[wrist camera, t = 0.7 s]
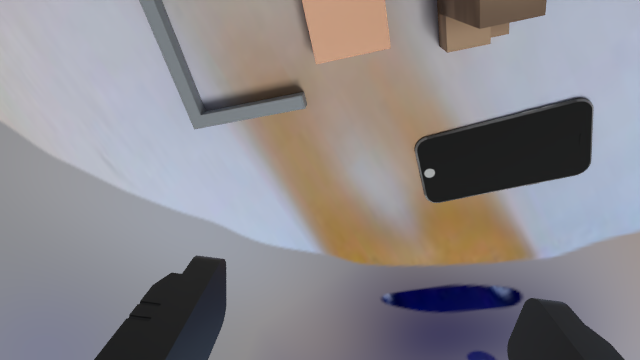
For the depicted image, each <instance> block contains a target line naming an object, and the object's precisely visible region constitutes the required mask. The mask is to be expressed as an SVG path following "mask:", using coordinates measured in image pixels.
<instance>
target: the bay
mask: <svg viewBox="0 0 640 360" xmlns="http://www.w3.org/2000/svg"><path fill="white" fill-rule="evenodd" d="M139 1H140V3H141V6H142V8H143V10H144V13H145V15H146V17H147V20H148V22H149V24H150V27H151V29H152V31H153V34H154V36H155V38H156V41H157V43H158V45H159V48H160V50H161V52H162V55H163V57H164V59H165V62H166V64H167V66H168V69H169V71H170V74H171V76H172V78H173V81H174V83H175V85H176V88H177V90H178V92H179V95H180V97H181V99H182V102H183V104H184V106H185V109H186V111H187V113H188V116H189V118H190V120H191V123H192V125H193V127H194V129H198V128H204V127H209V126H214V125H220V124H225V123H230V122H236V121H241V120H246V119H252V118H257V117H262V116H268V115H273V114H278V113H284V112H289V111H294V110H300V109H305V108H306V106H307V102H306V98H305V94H304V92H301V93H296V94H290V95H285V96H280V97H275V98H270V99H265V100H260V101H255V102H250V103H245V104H240V105H235V106H230V107H225V108H220V109H215V110H210V111H205V108H204V106H203V103H202V101H201V98H200V96H199V93H198V91H197V88H196V86H195V83H194V81H193V78H192V76H191V73H190V71H189V68H188V66H187V63H186V61H185V58H184V56H183V53H182V51H181V48H180V46H179V43H178V41H177V38H176V36H175V33H174V30H173V28H172V25H171V23H170V20H169V18H168V15H167V13H166V10H165V8H164V5H163V3H162V0H139Z"/></svg>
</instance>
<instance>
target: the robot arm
mask: <svg viewBox="0 0 640 360" xmlns="http://www.w3.org/2000/svg"><path fill="white" fill-rule="evenodd" d="M225 311H226V261H225V259H220V258H212V257H204V256H195V257H194V258H193V259H192V261H191V262H190V263H189V265H188V266H187V268H186V269H185V271H184V272H183V274H178V273H170V274H169V275H167V276H166V277H164V278H163V279H161V280H160V281H158V282H157V283H155V284H154V285H153V286H152V287H151V288H150V290H149V291H148V292H147V293H146V295H145V296H144V297H143V299H142V300H141V301H140V304H138V305H137V306H136V307H135V309H134V310H133V311H132V313H131V314H130V316H129V318H128V319H126V320H125V321H124V322H123V324H122V325H121V326H120V328H119V329H118V330H117V331H116V333H115V334H114V335H113V336H112V338H111V339H110V340H109V341H108V343H107V344H106V345H105V347H104V348H103V349H102V351H101V352H100V353H99V354H98V355H97V357H96V358H95V359H94V360H208V358H209V355H210V353H211V351H212V349H213V346H214V344H215V341H216V339H217V337H218V334H219V332H220V330H221V327H222V324H223V321H224V317H225ZM508 358H509V360H624V359H623V358H622V356H621V355H620V354H619V353H618V352H617V351H616V350H615V348H614V347H613V346H612V345H611V344H610V343H608V342H607V341H606V340H605V339H603V338H602V337H601V336H599V335H598V334H597V333H596V332H594V331H593V330H592V329H590V328H589V327H588V326H586V325H585V324H584V323H583V322H582V321H581V320H580V319H579V317H578V316H577V315H576V314H575V313H574V312H573V311H572V309H571V308H570V307H569V306H568V305H567V304H565V303H563V302H559V301H551V300H543V299H535V298H530V299H528V300H527V301H526V302H525V304H524V306H523V308H522V310H521V313H520V315H519V318H518V320H517V323H516V325H515V327H514V330H513V332H512V334H511V336H510V339H509V342H508Z"/></svg>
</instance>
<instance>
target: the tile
mask: <svg viewBox="0 0 640 360" xmlns="http://www.w3.org/2000/svg"><path fill="white" fill-rule="evenodd" d="M302 3H303V7H304V12H305V16H306V21H307V25H308V30H309V34H310V39H311V43H312V48H313V52H314V57H315V61H316V64H320V63H325V62H329V61H334V60H339V59H343V58H348V57H352V56H357V55H362V54H366V53H371V52H376V51H380V50H385V49H389V48H391V47H390V38H389V30H388V22H387V13H386V5H385V0H302Z"/></svg>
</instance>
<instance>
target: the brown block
mask: <svg viewBox="0 0 640 360" xmlns="http://www.w3.org/2000/svg"><path fill="white" fill-rule="evenodd" d="M437 7H438V28H439V46H440V47H441V48H442V49H444V50H445V51H446V52H447V53H448V52H452V51H457V50H462V49H467V48H472V47H477V46H482V45H487V44H490V40H491V37H496V36H500V35H505V34H509V23H510V22H515V21H519V20H524V19H529V18H533V17H538V16H543V15H545V11H546V0H437Z"/></svg>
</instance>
